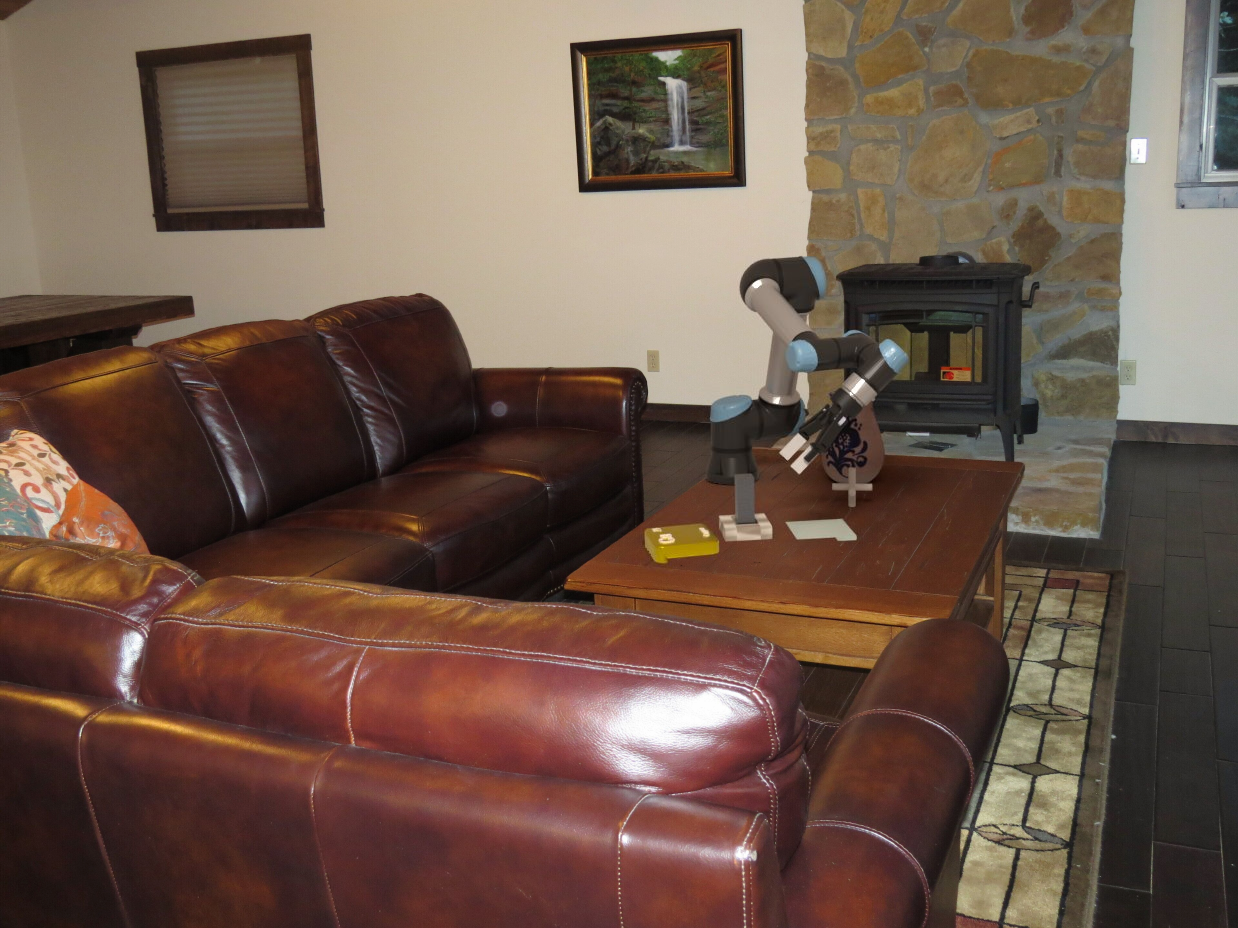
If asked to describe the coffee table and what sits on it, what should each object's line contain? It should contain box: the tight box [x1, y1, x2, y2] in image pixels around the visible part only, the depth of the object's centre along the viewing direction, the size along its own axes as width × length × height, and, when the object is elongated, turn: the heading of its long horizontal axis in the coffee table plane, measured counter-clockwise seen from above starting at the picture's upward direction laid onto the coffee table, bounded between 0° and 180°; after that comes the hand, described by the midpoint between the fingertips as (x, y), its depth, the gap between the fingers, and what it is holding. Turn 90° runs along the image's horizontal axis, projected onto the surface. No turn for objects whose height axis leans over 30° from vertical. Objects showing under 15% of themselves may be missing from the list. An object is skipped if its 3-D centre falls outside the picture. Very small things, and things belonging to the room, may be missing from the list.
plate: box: [785, 518, 858, 542], centre depth 269 cm, size 14×14×1 cm
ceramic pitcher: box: [820, 390, 886, 484], centre depth 312 cm, size 18×21×25 cm
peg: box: [734, 474, 756, 525], centre depth 266 cm, size 4×4×14 cm
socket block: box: [718, 512, 773, 542], centre depth 268 cm, size 11×11×4 cm
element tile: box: [644, 523, 720, 564], centre depth 260 cm, size 15×15×5 cm
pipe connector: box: [831, 468, 873, 508], centre depth 289 cm, size 10×10×10 cm
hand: (788, 463), depth 264 cm, fingers open, 13 cm apart
